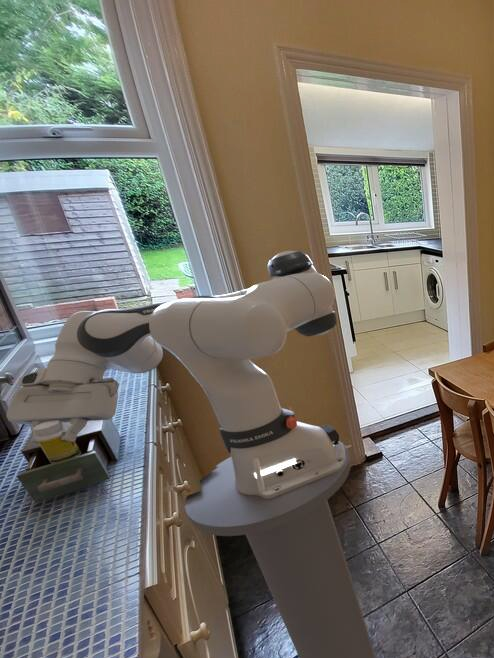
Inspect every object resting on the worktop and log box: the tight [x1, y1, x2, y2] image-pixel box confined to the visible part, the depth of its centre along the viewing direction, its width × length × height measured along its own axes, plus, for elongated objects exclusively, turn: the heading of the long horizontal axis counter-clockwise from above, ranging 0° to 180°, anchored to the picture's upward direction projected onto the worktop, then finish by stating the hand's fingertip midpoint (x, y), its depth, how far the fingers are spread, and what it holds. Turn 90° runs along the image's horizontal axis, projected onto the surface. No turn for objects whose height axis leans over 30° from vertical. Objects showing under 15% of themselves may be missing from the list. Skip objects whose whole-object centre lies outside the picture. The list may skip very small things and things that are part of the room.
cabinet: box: [20, 418, 122, 465], centre depth 97 cm, size 15×13×9 cm
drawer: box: [16, 434, 111, 504], centre depth 87 cm, size 18×11×7 cm, turn 39°
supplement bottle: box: [33, 420, 81, 463], centre depth 86 cm, size 5×5×8 cm
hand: (52, 442), depth 86 cm, fingers closed on supplement bottle, 5 cm apart
